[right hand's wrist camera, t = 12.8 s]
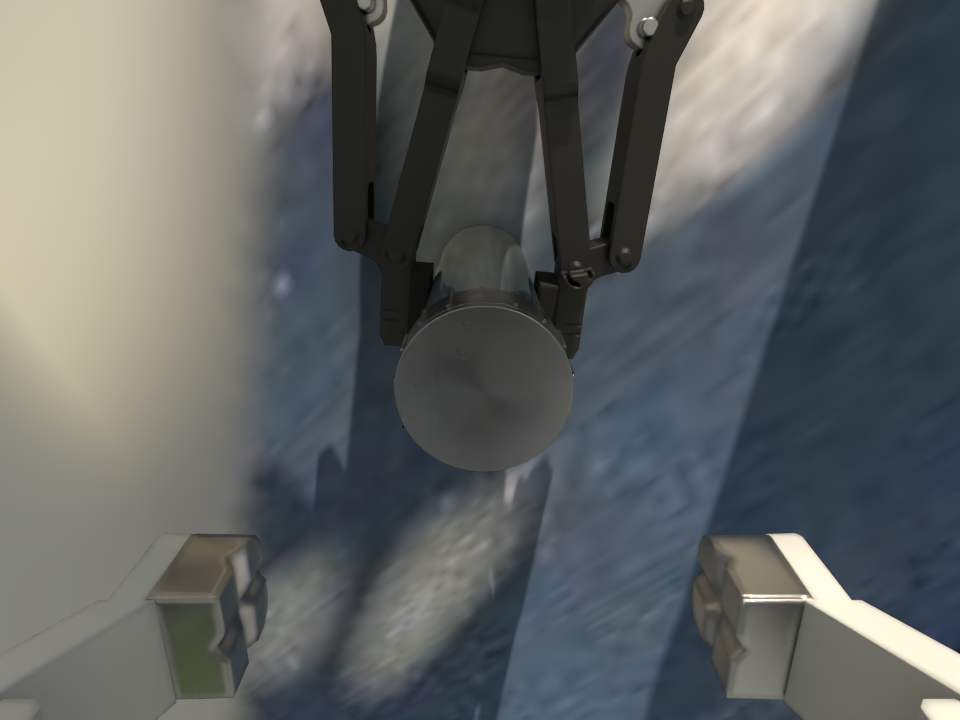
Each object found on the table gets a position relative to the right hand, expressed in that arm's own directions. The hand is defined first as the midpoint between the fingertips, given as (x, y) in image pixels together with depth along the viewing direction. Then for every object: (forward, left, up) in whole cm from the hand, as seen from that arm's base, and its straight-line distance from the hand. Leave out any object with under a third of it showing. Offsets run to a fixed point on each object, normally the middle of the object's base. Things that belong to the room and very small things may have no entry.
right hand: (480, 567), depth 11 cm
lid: (0, 0, -8) cm, 8 cm away
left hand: (-5, -1, -17) cm, 18 cm away
